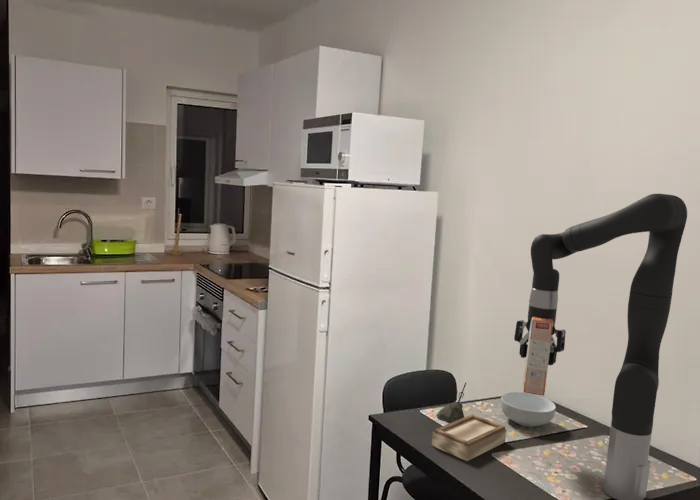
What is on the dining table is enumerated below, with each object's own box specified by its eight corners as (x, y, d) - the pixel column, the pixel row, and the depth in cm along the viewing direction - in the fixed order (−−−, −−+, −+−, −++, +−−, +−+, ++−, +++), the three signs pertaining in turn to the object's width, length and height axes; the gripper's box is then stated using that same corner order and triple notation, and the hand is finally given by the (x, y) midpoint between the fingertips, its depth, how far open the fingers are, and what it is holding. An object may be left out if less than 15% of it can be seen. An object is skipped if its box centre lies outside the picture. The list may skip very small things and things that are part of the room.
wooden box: (505, 442, 180) (506, 426, 179) (467, 461, 166) (468, 444, 165) (470, 428, 188) (471, 413, 188) (431, 445, 174) (432, 429, 173)
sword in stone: (442, 424, 190) (445, 387, 189) (433, 416, 198) (435, 379, 197) (472, 423, 193) (475, 386, 192) (461, 415, 200) (464, 379, 199)
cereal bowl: (490, 421, 196) (492, 400, 195) (511, 408, 209) (513, 388, 208) (542, 437, 185) (545, 415, 185) (560, 422, 199) (563, 401, 198)
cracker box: (545, 396, 167) (554, 321, 164) (522, 393, 168) (531, 318, 166) (544, 381, 180) (552, 312, 178) (523, 378, 182) (530, 309, 179)
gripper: (573, 308, 170) (566, 365, 171) (526, 298, 179) (520, 352, 181) (561, 311, 164) (554, 370, 166) (513, 301, 174) (507, 356, 176)
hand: (536, 361), depth 174 cm, fingers closed on cracker box, 8 cm apart
